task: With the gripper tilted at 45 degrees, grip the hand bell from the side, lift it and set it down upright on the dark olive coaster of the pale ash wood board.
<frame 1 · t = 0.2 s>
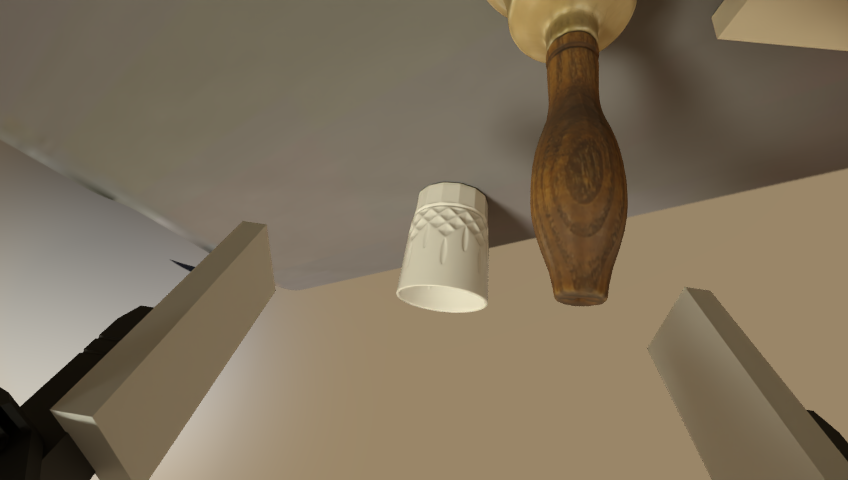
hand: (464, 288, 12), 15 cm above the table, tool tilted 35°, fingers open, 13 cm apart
white cup: (452, 198, 37), on the table
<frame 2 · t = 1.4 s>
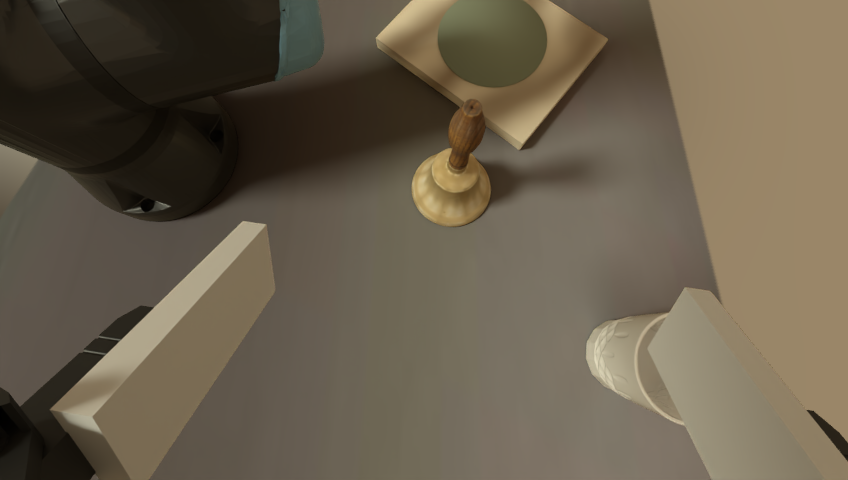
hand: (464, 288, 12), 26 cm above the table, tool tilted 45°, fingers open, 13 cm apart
hand bell: (451, 189, 41), on the table
bell board: (489, 48, 44), on the table
white cup: (618, 354, 37), on the table
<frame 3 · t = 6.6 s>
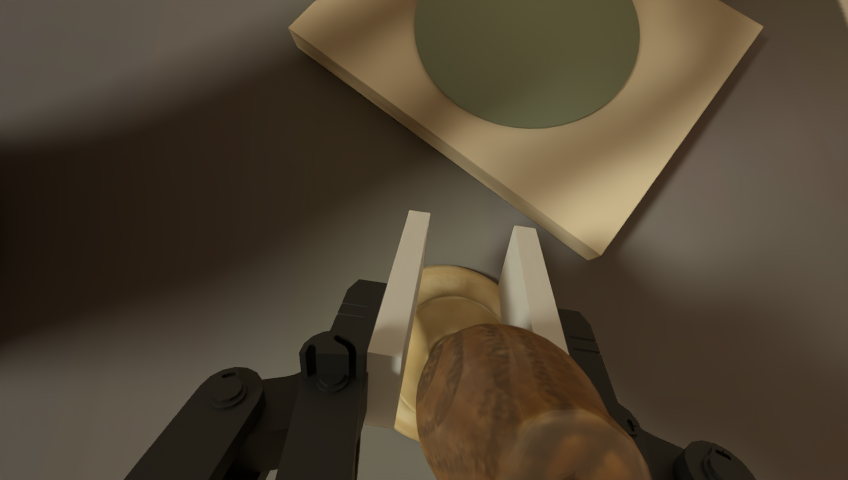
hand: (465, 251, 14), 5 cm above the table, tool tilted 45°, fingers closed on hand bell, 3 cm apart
hand bell: (443, 350, 19), on the table, touching gripper
bell board: (519, 46, 22), on the table
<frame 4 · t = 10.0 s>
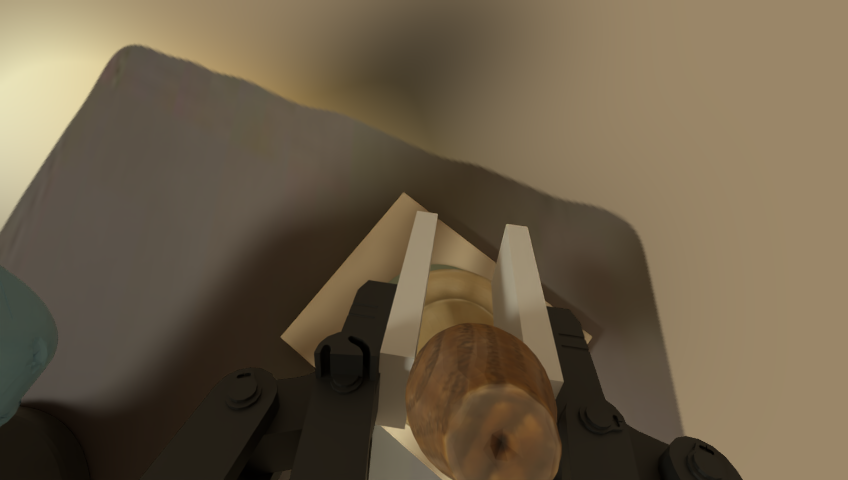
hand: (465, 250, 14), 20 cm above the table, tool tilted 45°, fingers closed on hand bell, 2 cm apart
hand bell: (449, 349, 20), point 13 cm above the table, touching gripper
bell board: (435, 336, 33), on the table
when the fingers open (8 cm above the table, at t = 13.2 s): hand bell stays where it is, resting on bell board.
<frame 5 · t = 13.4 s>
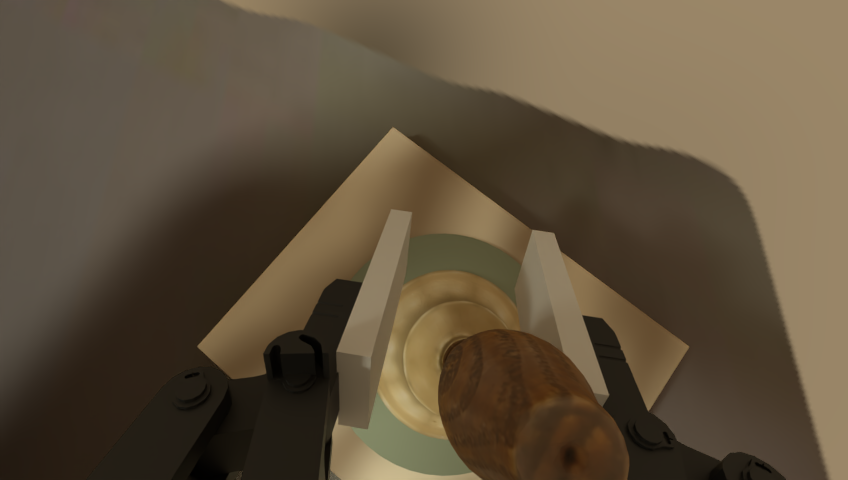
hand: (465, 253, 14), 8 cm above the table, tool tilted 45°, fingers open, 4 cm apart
hand bell: (449, 350, 20), point 2 cm above the table, touching bell board
bell board: (441, 345, 21), on the table
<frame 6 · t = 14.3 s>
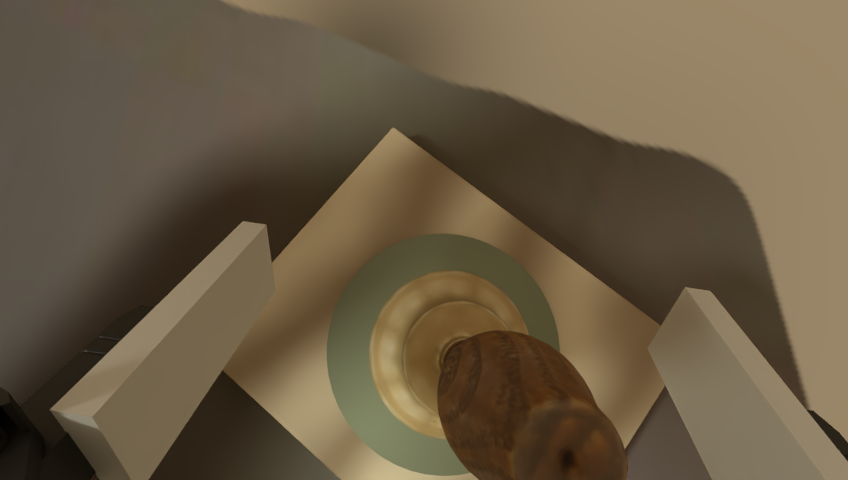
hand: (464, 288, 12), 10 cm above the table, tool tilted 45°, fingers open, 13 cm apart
hand bell: (449, 350, 20), point 2 cm above the table, touching bell board
bell board: (441, 345, 21), on the table
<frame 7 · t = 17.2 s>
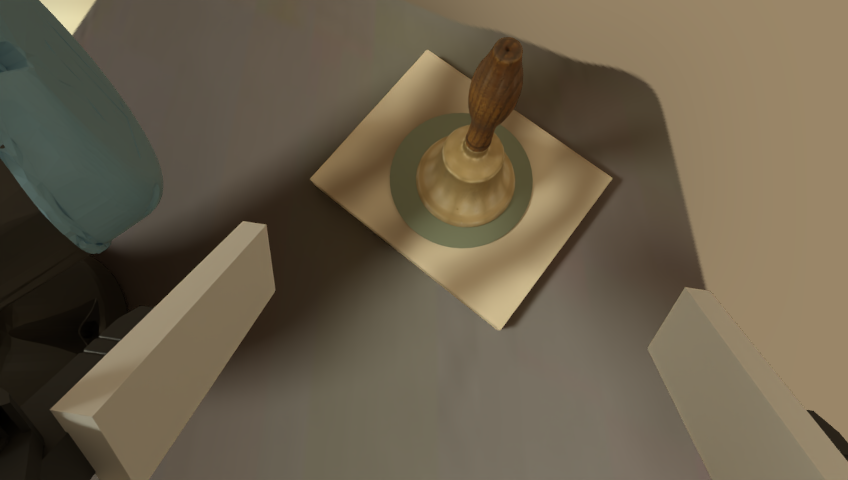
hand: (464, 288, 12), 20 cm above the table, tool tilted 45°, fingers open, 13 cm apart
hand bell: (465, 180, 32), point 2 cm above the table, touching bell board
bell board: (459, 184, 34), on the table
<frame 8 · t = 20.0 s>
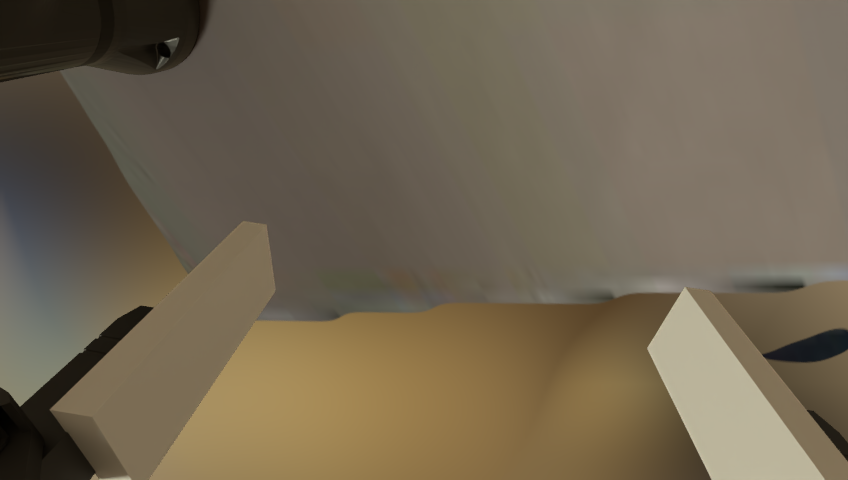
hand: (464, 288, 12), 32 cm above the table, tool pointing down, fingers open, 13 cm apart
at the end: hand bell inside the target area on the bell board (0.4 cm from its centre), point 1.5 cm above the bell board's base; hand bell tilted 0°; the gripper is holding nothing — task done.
